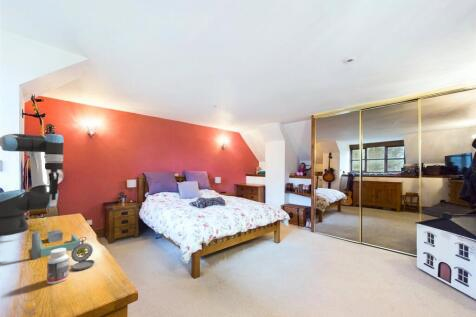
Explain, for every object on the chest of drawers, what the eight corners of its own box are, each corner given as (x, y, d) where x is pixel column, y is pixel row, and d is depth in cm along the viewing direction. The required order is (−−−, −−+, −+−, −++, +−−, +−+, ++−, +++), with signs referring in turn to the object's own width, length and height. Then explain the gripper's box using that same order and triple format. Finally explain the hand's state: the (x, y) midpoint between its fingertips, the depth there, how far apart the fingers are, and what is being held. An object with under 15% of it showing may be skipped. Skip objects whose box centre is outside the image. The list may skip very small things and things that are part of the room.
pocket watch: (82, 272, 73) (83, 243, 74) (63, 269, 75) (64, 241, 75) (102, 261, 81) (102, 235, 82) (84, 259, 83) (84, 234, 83)
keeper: (29, 249, 93) (30, 227, 93) (73, 240, 104) (74, 220, 105) (31, 260, 83) (32, 234, 83) (80, 248, 94) (80, 226, 94)
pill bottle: (42, 282, 67) (43, 251, 67) (62, 274, 72) (62, 245, 72) (53, 286, 65) (53, 254, 65) (72, 277, 70) (72, 248, 70)
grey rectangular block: (47, 239, 106) (47, 232, 106) (60, 237, 109) (60, 229, 109) (49, 243, 101) (49, 235, 101) (62, 240, 105) (62, 232, 105)
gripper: (43, 162, 115) (42, 205, 114) (45, 162, 106) (44, 208, 105) (61, 162, 120) (60, 203, 120) (64, 162, 111) (63, 206, 111)
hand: (53, 205), depth 112 cm, fingers closed
